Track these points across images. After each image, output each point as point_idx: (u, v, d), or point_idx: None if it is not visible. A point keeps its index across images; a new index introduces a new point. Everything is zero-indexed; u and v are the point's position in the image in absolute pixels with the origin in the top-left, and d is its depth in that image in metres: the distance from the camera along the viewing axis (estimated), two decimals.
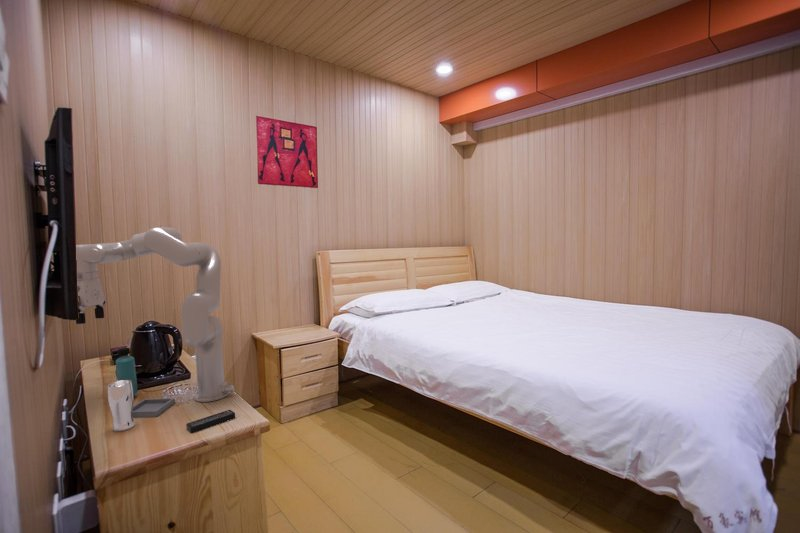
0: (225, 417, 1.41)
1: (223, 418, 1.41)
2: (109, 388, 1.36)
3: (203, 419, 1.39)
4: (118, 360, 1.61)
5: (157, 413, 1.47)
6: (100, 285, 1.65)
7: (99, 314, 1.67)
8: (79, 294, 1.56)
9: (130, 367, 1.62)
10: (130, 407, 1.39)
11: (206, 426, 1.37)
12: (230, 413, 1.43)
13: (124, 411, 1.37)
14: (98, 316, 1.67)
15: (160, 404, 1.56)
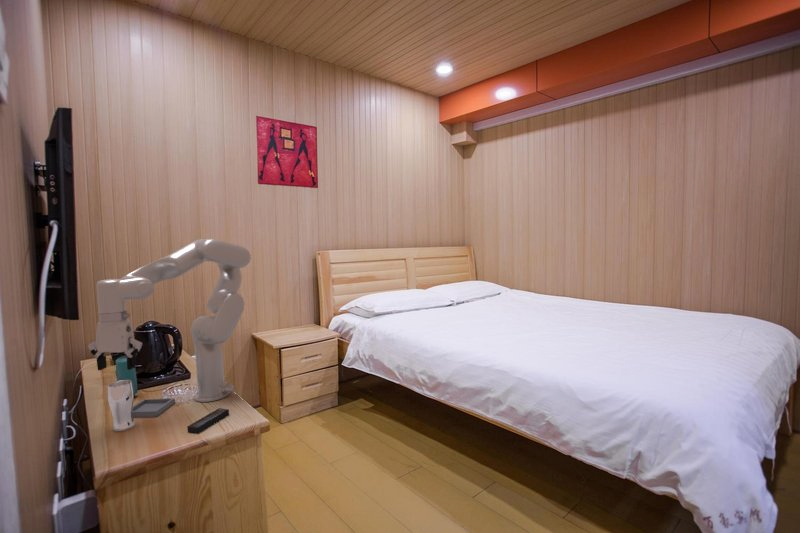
0: (222, 414, 1.43)
1: (221, 415, 1.43)
2: (109, 388, 1.36)
3: (201, 420, 1.39)
4: (118, 360, 1.61)
5: (157, 413, 1.47)
6: None
7: (104, 363, 1.38)
8: (130, 334, 1.37)
9: None
10: (130, 407, 1.39)
11: (209, 425, 1.38)
12: (224, 410, 1.46)
13: (124, 411, 1.37)
14: (103, 366, 1.37)
15: (160, 404, 1.56)
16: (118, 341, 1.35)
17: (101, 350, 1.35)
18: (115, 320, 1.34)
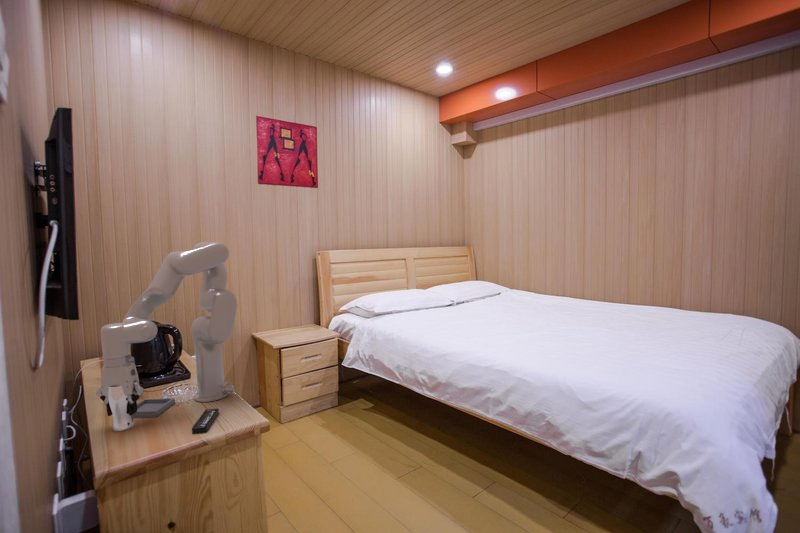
0: (216, 413, 1.45)
1: (215, 414, 1.44)
2: (109, 388, 1.36)
3: (200, 420, 1.38)
4: None
5: (157, 413, 1.47)
6: None
7: None
8: (136, 379, 1.39)
9: None
10: None
11: (210, 424, 1.38)
12: (215, 410, 1.46)
13: (124, 411, 1.37)
14: None
15: (160, 404, 1.56)
16: (123, 385, 1.36)
17: (106, 394, 1.37)
18: (120, 365, 1.35)
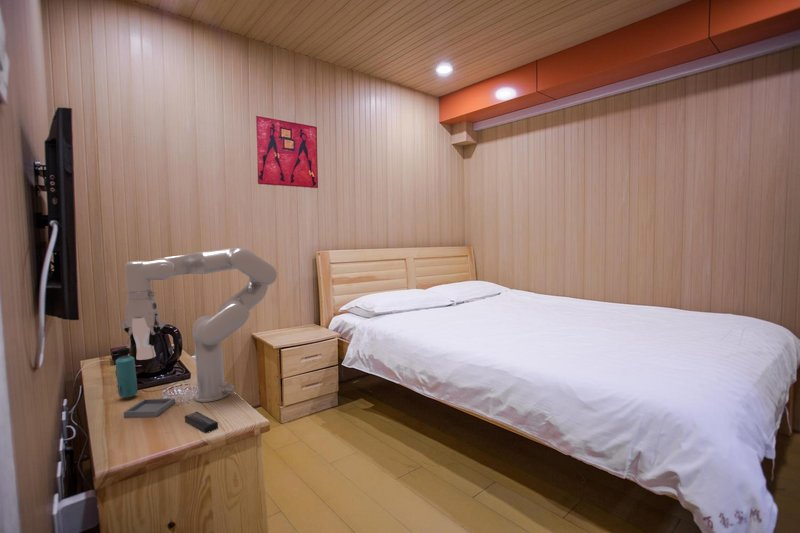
0: None
1: None
2: (133, 319, 1.47)
3: (201, 421, 1.37)
4: (118, 360, 1.61)
5: (157, 413, 1.47)
6: None
7: None
8: (157, 312, 1.50)
9: (130, 367, 1.62)
10: None
11: None
12: (196, 413, 1.44)
13: (146, 341, 1.48)
14: None
15: (160, 404, 1.56)
16: (146, 317, 1.47)
17: (130, 326, 1.48)
18: (143, 298, 1.46)
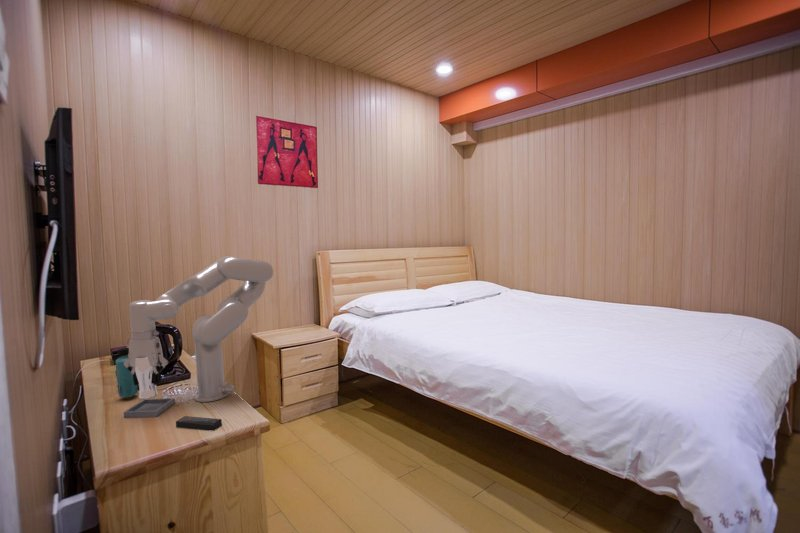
0: None
1: None
2: (136, 359, 1.48)
3: (202, 422, 1.37)
4: (118, 360, 1.61)
5: (157, 413, 1.47)
6: None
7: None
8: (160, 352, 1.51)
9: None
10: None
11: None
12: (186, 417, 1.41)
13: (149, 380, 1.49)
14: None
15: (160, 404, 1.56)
16: (149, 357, 1.48)
17: (133, 365, 1.49)
18: (146, 338, 1.47)
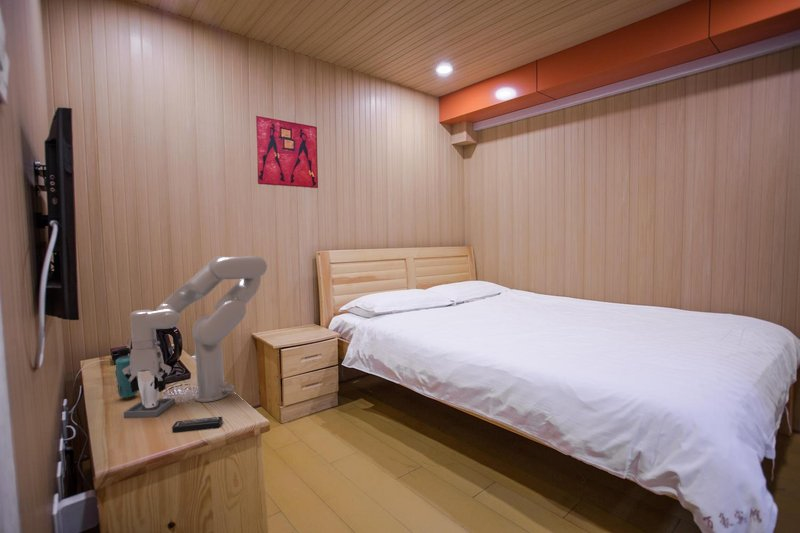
0: None
1: None
2: (138, 372, 1.49)
3: (204, 422, 1.37)
4: (118, 360, 1.61)
5: (157, 413, 1.47)
6: None
7: (137, 385, 1.52)
8: (160, 360, 1.52)
9: None
10: (157, 390, 1.52)
11: None
12: (179, 421, 1.38)
13: (151, 393, 1.50)
14: (136, 389, 1.52)
15: (160, 404, 1.56)
16: (150, 366, 1.49)
17: (134, 374, 1.49)
18: (147, 347, 1.48)
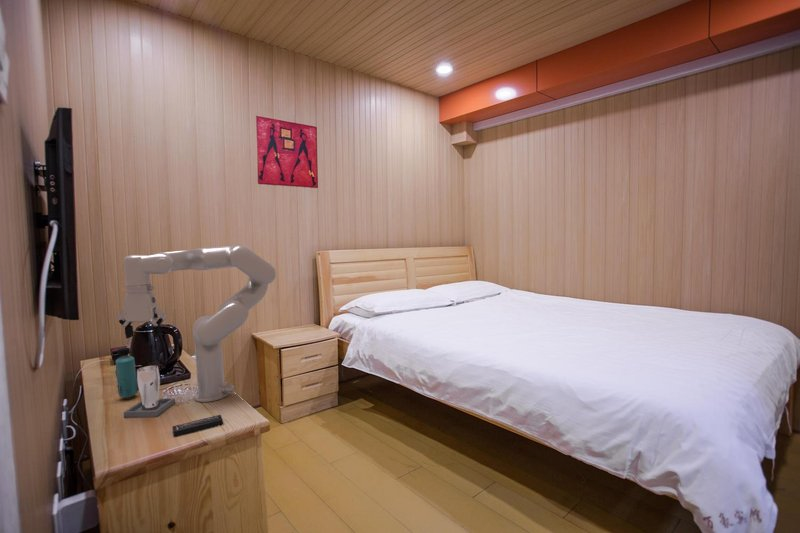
0: None
1: None
2: (138, 372, 1.49)
3: (205, 421, 1.37)
4: (118, 360, 1.61)
5: (157, 413, 1.47)
6: None
7: (131, 332, 1.51)
8: (155, 305, 1.50)
9: (130, 367, 1.62)
10: (157, 390, 1.52)
11: None
12: (177, 425, 1.35)
13: (151, 393, 1.50)
14: (130, 335, 1.50)
15: (160, 404, 1.56)
16: (144, 311, 1.48)
17: (129, 319, 1.48)
18: (141, 292, 1.47)
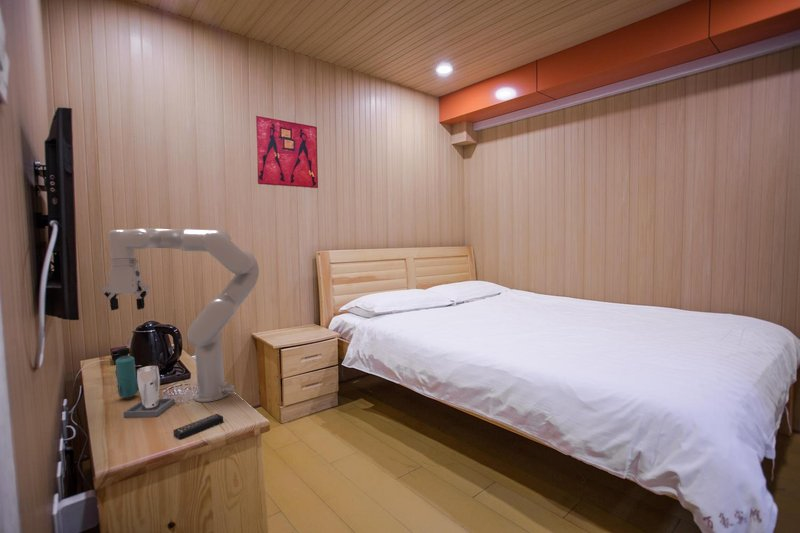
0: None
1: None
2: (138, 372, 1.49)
3: (206, 421, 1.38)
4: (118, 360, 1.61)
5: (157, 413, 1.47)
6: None
7: (116, 304, 1.56)
8: (139, 279, 1.55)
9: (130, 367, 1.62)
10: (157, 390, 1.52)
11: None
12: (178, 429, 1.33)
13: (151, 393, 1.50)
14: (115, 307, 1.55)
15: (160, 404, 1.56)
16: (128, 284, 1.52)
17: (114, 292, 1.53)
18: (126, 265, 1.51)
